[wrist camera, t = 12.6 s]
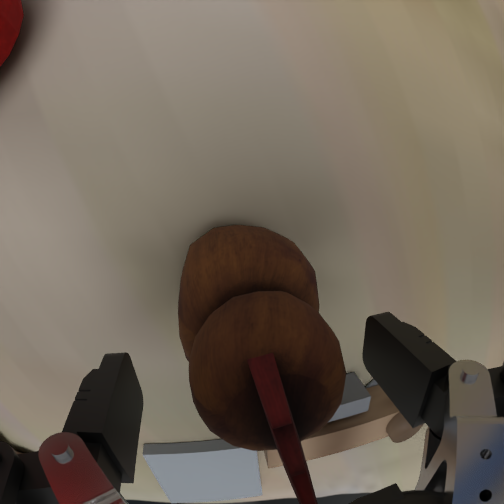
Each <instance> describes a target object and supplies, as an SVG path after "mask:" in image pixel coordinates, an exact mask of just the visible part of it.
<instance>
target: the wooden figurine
mask: <svg viewBox="0 0 504 504" xmlns="http://www.w3.org/2000/svg"><path fill="white" fill-rule="evenodd" d="M178 317H179V334H180V339H181V342H182V346H183V349H184V352H185V356H186V358H187V360H188V361H189V382H190V387H191V392H192V397H193V402H194V404H195V407H196V409H197V411H198V413H199V415H200V417H201V418H202V420H203V421H204V423H205V424H206V425H207V427H208V428H209V430H210V431H211V432H213V433H214V434H216V435H217V436H219V437H220V438H221V439H223V440H224V441H226V442H227V443H229V444H231V445H233V446H235V447H240V448H244V449H248V450H253V451H262V450H277V451H278V453H279V456H280V458H281V461H282V463H283V466H284V468H285V470H286V473H287V475H288V478H289V480H290V483H291V485H292V487H293V490H294V492H295V494H296V497H297V499H298V501H299V504H318V503H317V500H316V496H315V492H314V489H313V485H312V481H311V478H310V474H309V470H308V466H307V463H306V459H305V455H304V452H303V448H302V444H301V441H303V440H305V439H306V438H308V437H310V436H312V435H313V434H315V433H317V432H318V431H319V430H320V429H321V428H322V427H323V426H325V425H326V424H327V423H328V422H329V420H330V419H331V418H332V417H333V416H334V414H335V412H336V411H337V409H338V408H339V406H340V404H341V402H342V397H343V392H344V386H345V379H346V371H345V366H344V362H343V357H342V353H341V348H340V344H339V340H338V339H337V337H336V336H335V334H334V332H333V331H332V329H331V328H330V327H329V325H328V324H327V323H326V322H325V320H324V319H323V318H322V317H321V315H320V314H319V299H318V291H317V283H316V276H315V271H314V269H313V267H312V266H311V264H310V263H309V261H308V260H307V259H306V257H305V256H304V255H303V253H302V252H301V251H300V250H299V248H298V247H297V246H296V245H295V243H294V242H292V241H291V240H289V239H288V238H286V237H283V236H281V235H279V234H277V233H275V232H272V231H270V230H268V229H266V228H262V227H254V226H244V225H232V226H224V227H216V228H213V229H211V230H210V231H209V232H207V233H206V234H205V235H203V236H202V237H200V238H199V239H198V240H196V241H195V242H194V243H192V244H191V245H190V247H189V251H188V254H187V257H186V261H185V264H184V267H183V271H182V276H181V283H180V292H179V302H178Z"/></svg>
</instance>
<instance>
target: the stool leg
mask: <svg viewBox="0 0 504 504" xmlns="http://www.w3.org/2000/svg"><path fill="white" fill-rule="evenodd" d="M366 390H367V391H368V392H369V394H370V395H371V399H370V404H369V409H368V411H366V412H362V413H359V414H356V415H353V416H349V417H346V418H342V419H338V420H335V421H331V422H328V423H327V424H326V425H325V426H323V427H322V428H321V429H320V430H319V431H318V432H317V433H315V434H313V435H312V436H310V437H308V438H306V439H305V440H303V441H301V444H302V448H303V452H304V455H305V459H306V461H307V460H312V459H316V458H320V457H324V456H327V455H331V454H335V453H338V452H342V451H345V450H349V449H352V448H355V447H358V446H361V445H364V444H367V443H370V442H373V441H376V440H379V439H382V438H385V437H387V436H389V437H390V438H391V440H392V441H393V442H395V443H398V442H402V441H405V440H407V439H409V438H410V437H412V436H413V435H414V434H416V433H417V432H418V431H419V430H420V428H421V427H422V426H423V424H422V425H420V426H417V427H415V428H412V427H411V425H410V424H409V423H408V422H407V420H406V419H405V418H404V416H403V415H402V414H401V413H400V411H399V410H398V409H397V407H396V406H395V405H394V404H393V402H392V401H391V400H390V398H389V397H388V396H387V395H386V393H385V392H384V391H383V390H382V388H381V387H380V386H379V385H376V386H373V387H369V388H366ZM264 453H265V457H266V461H267V465H268V468H273V467H279V466H283V463H282V461H281V458H280V456H279V453H278V451H277V450H264Z"/></svg>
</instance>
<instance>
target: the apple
mask: <svg viewBox="0 0 504 504" xmlns="http://www.w3.org/2000/svg"><path fill="white" fill-rule="evenodd" d="M23 16H24V14H23V9H22V3H21V0H0V67H1V65H2V64H3V63H4V61H5V60H6V59H7V58H8V56H9V55H10V52H11V50H12V48H13V46H14V44H15V41H16V39H17V37H18V35H19V32H20V28H21V24H22V20H23Z"/></svg>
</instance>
